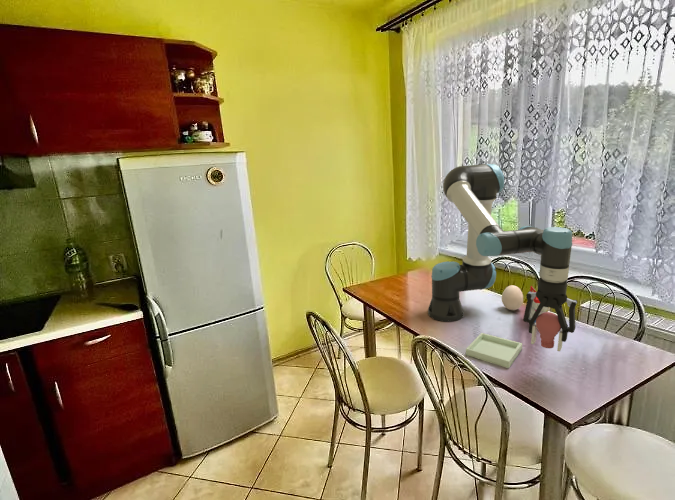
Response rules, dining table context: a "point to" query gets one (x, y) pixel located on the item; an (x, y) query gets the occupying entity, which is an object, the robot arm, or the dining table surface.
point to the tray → (494, 350)
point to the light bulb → (548, 328)
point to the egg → (512, 297)
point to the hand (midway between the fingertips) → (546, 345)
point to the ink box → (536, 305)
